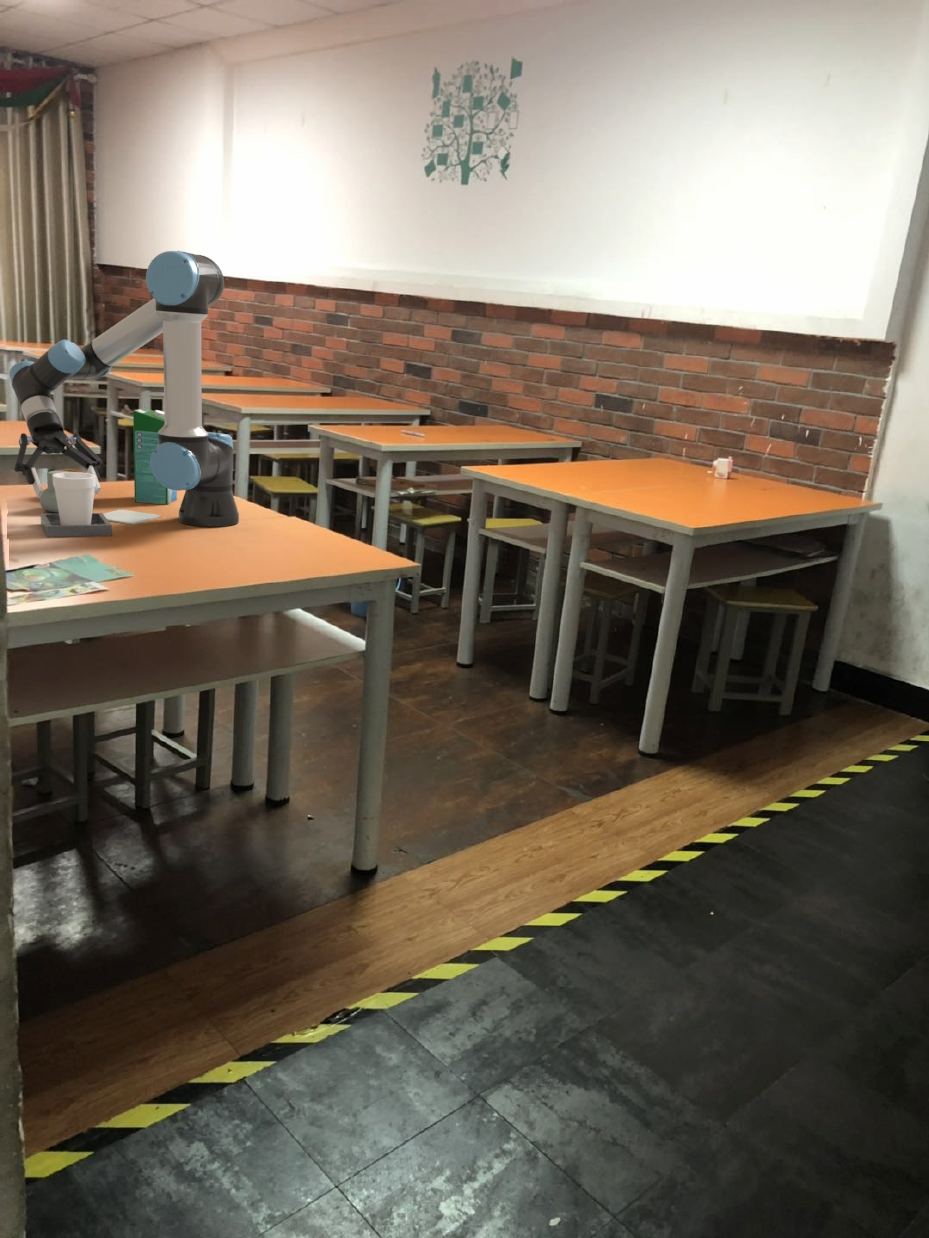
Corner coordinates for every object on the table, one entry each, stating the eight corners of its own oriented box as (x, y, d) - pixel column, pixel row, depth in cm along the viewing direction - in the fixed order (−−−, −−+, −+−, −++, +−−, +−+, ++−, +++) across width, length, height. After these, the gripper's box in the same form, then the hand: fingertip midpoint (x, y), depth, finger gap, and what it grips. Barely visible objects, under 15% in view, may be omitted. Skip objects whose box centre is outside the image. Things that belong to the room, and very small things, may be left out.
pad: (160, 517, 249) (160, 515, 249) (133, 524, 238) (133, 523, 238) (120, 510, 252) (120, 509, 252) (91, 518, 241) (91, 516, 241)
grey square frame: (102, 522, 238) (102, 512, 237) (111, 535, 226) (111, 525, 225) (40, 524, 231) (40, 513, 230) (47, 537, 219) (47, 526, 218)
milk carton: (167, 504, 264) (166, 413, 257) (134, 502, 264) (132, 410, 257) (177, 499, 273) (176, 410, 266) (145, 496, 273) (144, 407, 265)
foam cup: (54, 525, 231) (52, 471, 227) (95, 525, 234) (94, 472, 231) (55, 534, 222) (53, 478, 219) (98, 534, 226) (96, 479, 222)
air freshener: (73, 516, 242) (71, 477, 239) (38, 514, 240) (36, 475, 237) (83, 508, 252) (81, 470, 249) (49, 506, 250) (48, 468, 248)
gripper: (89, 428, 243) (116, 498, 237) (-16, 430, 226) (11, 504, 221) (97, 410, 238) (125, 481, 232) (-9, 410, 221) (18, 486, 215)
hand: (69, 492), depth 226 cm, fingers open, 13 cm apart
